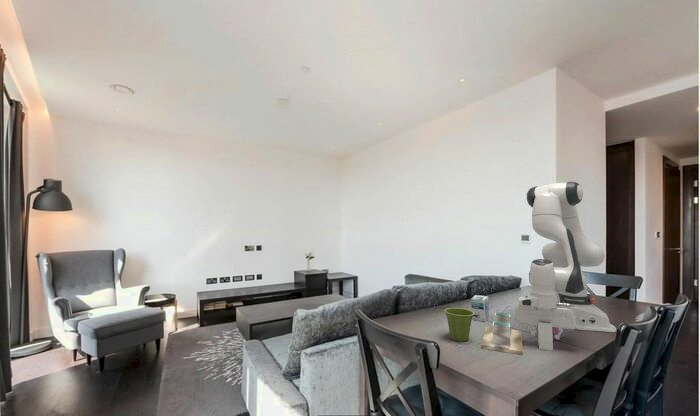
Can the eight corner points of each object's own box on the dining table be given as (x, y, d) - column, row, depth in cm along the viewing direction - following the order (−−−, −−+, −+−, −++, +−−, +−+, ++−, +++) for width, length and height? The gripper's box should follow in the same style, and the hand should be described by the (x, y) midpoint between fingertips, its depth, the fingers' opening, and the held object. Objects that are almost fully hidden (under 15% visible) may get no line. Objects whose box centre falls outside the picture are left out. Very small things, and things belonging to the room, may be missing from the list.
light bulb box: (485, 322, 155) (485, 299, 156) (471, 320, 159) (470, 298, 159) (489, 317, 164) (488, 296, 165) (475, 315, 168) (475, 294, 168)
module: (551, 344, 125) (550, 318, 125) (553, 351, 119) (551, 323, 119) (537, 343, 127) (537, 317, 127) (539, 348, 121) (538, 321, 121)
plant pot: (458, 345, 124) (458, 316, 125) (439, 336, 135) (438, 309, 135) (481, 341, 129) (480, 313, 129) (460, 332, 139) (459, 306, 140)
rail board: (521, 333, 138) (520, 313, 138) (522, 354, 115) (521, 329, 115) (486, 328, 144) (486, 309, 145) (481, 348, 121) (480, 324, 122)
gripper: (574, 302, 122) (575, 339, 121) (514, 297, 131) (515, 331, 130) (577, 306, 116) (578, 344, 115) (514, 300, 126) (515, 335, 125)
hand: (544, 337), depth 123 cm, fingers open, 7 cm apart
